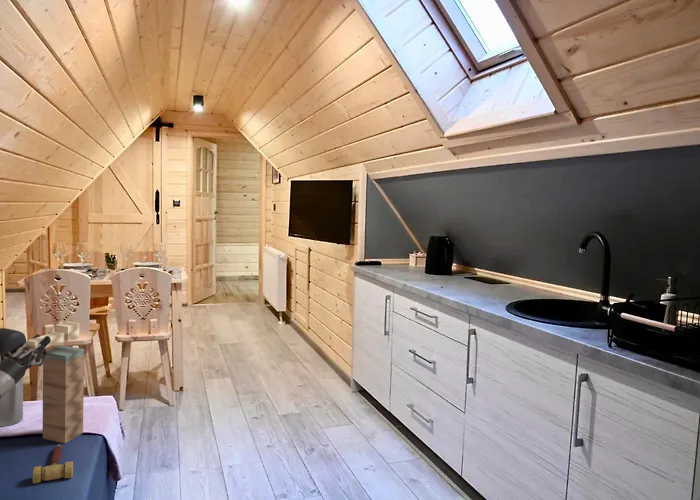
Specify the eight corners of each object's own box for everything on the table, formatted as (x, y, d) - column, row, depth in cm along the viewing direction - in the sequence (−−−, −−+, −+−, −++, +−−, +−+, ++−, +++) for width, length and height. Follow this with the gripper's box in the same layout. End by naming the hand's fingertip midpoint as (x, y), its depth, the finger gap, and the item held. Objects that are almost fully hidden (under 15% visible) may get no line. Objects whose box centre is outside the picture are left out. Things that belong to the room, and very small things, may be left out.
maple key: (37, 351, 157) (37, 336, 157) (24, 349, 158) (24, 333, 158) (79, 337, 174) (79, 323, 173) (66, 335, 175) (67, 321, 174)
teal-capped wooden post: (64, 443, 169) (66, 356, 166) (42, 438, 172) (43, 352, 168) (82, 432, 177) (84, 349, 174) (61, 428, 179) (62, 345, 176)
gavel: (40, 441, 164) (76, 436, 169) (40, 455, 165) (75, 450, 169) (32, 471, 145) (72, 465, 150) (32, 486, 146) (72, 480, 150)
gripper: (-12, 383, 153) (31, 342, 166) (27, 391, 149) (67, 348, 163) (-24, 366, 148) (21, 325, 162) (16, 374, 145) (58, 331, 158)
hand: (44, 337), depth 162 cm, fingers closed on maple key, 3 cm apart
